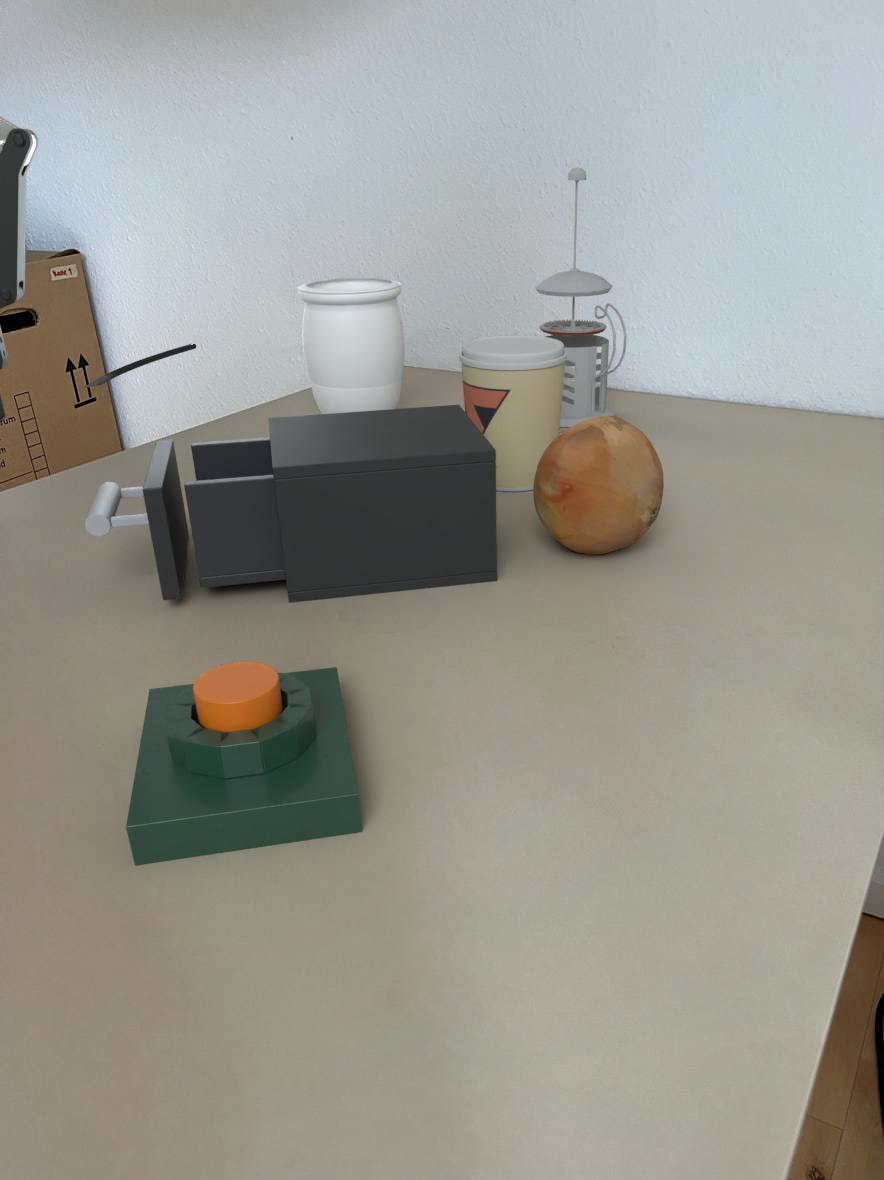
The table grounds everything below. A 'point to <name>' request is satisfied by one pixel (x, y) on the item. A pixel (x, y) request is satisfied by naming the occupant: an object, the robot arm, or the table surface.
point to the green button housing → (243, 775)
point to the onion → (598, 485)
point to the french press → (581, 338)
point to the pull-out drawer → (205, 514)
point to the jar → (353, 343)
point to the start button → (237, 696)
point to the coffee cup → (514, 400)
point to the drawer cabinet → (384, 501)
